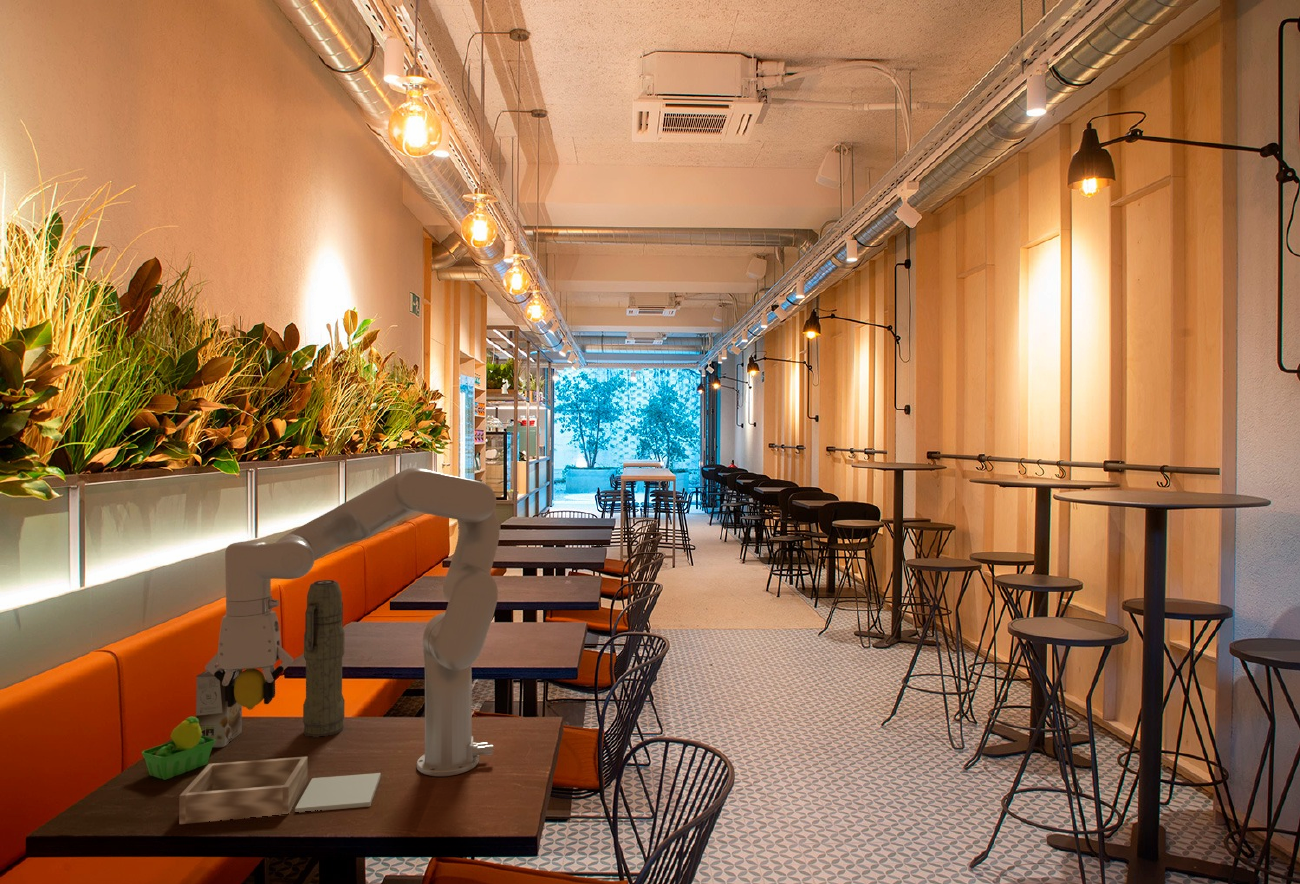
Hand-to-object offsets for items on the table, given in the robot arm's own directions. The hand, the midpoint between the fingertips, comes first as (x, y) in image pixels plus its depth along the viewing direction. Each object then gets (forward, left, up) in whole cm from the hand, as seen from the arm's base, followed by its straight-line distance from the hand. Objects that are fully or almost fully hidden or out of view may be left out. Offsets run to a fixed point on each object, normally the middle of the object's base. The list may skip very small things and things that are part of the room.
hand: (250, 702), depth 144 cm
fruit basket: (+18, -18, -19) cm, 32 cm away
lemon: (0, 0, -2) cm, 2 cm away
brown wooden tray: (0, 0, -19) cm, 19 cm away
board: (-16, 0, -18) cm, 25 cm away
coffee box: (+16, -34, -19) cm, 42 cm away
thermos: (-6, -36, -19) cm, 41 cm away
